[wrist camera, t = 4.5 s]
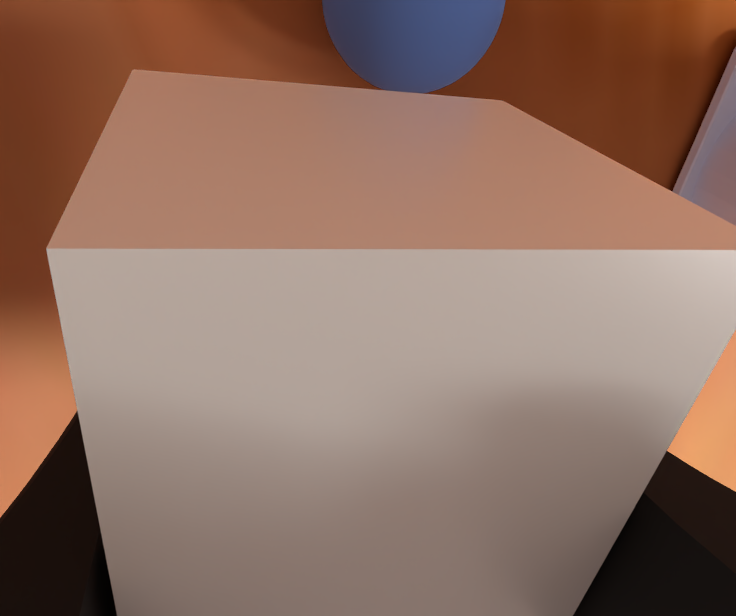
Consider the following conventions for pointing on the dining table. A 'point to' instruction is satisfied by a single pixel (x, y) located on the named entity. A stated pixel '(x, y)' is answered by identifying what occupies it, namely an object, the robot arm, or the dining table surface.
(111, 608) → the robot arm
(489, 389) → the cream rectangular prism
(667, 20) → the dining table surface
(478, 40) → the ball
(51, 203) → the dining table surface
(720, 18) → the dining table surface
